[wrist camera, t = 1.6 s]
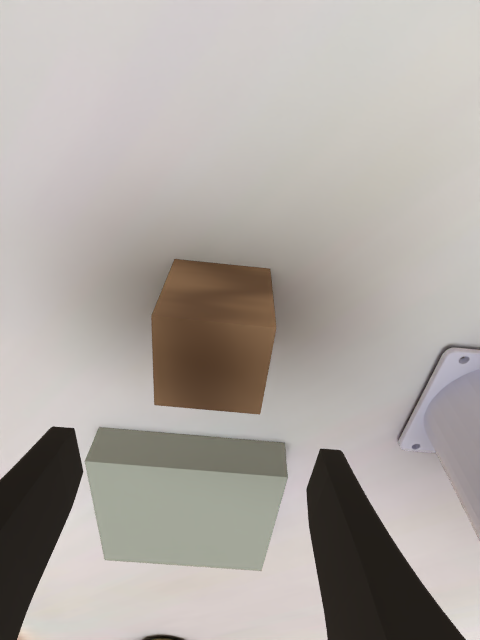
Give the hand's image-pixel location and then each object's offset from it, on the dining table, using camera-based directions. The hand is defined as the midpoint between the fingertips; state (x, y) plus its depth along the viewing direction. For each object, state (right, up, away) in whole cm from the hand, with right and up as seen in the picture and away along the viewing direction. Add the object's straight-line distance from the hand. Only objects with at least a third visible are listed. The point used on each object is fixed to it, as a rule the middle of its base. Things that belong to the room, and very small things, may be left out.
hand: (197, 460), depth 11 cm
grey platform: (-2, -8, +17) cm, 19 cm away
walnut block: (0, +5, +8) cm, 9 cm away
